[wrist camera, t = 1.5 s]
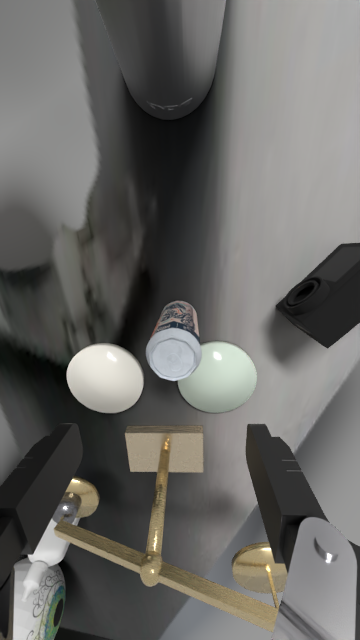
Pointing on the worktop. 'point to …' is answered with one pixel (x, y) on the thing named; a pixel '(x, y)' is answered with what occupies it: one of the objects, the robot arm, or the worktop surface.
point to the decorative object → (38, 604)
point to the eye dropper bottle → (45, 558)
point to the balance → (162, 457)
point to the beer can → (175, 342)
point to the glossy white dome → (105, 378)
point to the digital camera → (327, 297)
